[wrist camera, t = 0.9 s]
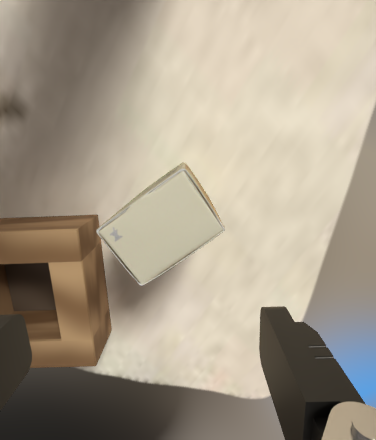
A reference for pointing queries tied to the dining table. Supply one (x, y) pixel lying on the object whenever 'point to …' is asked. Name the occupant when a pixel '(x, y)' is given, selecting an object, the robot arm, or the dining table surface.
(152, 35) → the dining table surface
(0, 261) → the socket block
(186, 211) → the skincare box
